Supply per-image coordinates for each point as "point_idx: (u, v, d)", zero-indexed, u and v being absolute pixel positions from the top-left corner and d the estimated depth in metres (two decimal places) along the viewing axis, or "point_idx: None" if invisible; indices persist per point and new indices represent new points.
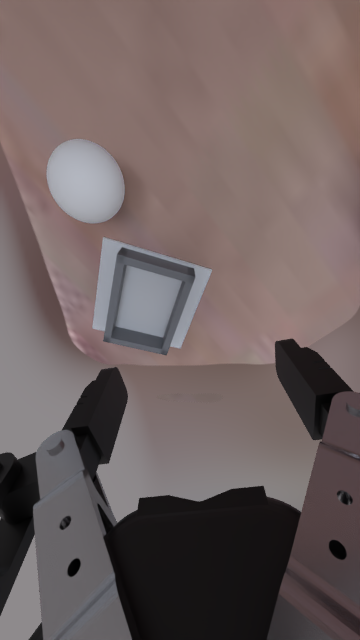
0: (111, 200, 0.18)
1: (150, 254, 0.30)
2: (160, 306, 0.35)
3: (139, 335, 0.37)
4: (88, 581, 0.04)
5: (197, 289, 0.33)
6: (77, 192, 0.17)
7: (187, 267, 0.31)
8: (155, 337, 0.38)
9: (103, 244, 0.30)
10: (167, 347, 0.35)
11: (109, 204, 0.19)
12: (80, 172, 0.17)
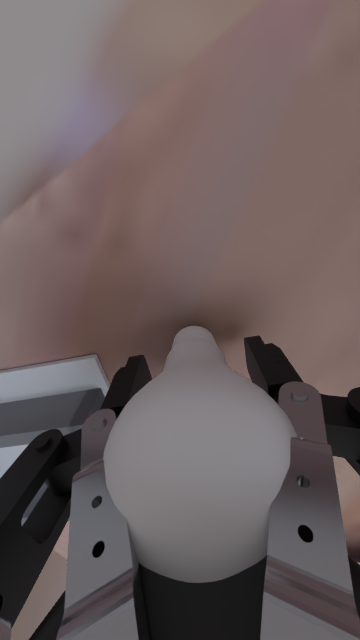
0: None
1: None
2: None
3: None
4: (109, 568, 0.04)
5: None
6: None
7: None
8: None
9: (82, 361, 0.15)
10: None
11: None
12: None
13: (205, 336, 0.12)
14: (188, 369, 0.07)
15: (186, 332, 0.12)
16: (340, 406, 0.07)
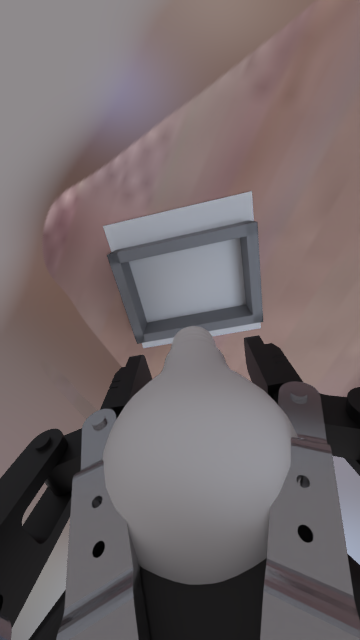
0: None
1: None
2: (190, 299, 0.26)
3: (136, 294, 0.25)
4: (109, 569, 0.04)
5: None
6: None
7: None
8: (143, 314, 0.27)
9: (242, 194, 0.22)
10: (150, 339, 0.25)
11: None
12: None
13: (205, 336, 0.12)
14: (188, 369, 0.07)
15: (185, 332, 0.12)
16: (340, 406, 0.07)
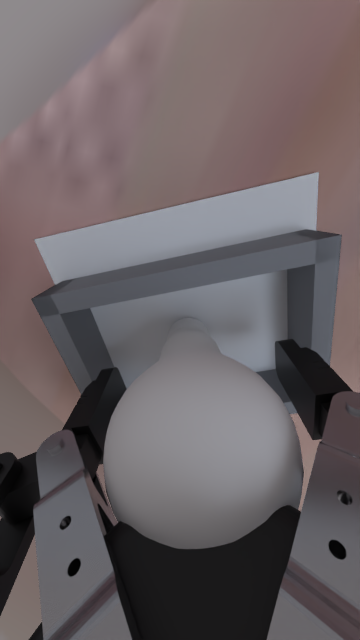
0: None
1: None
2: None
3: (103, 355, 0.15)
4: (88, 581, 0.04)
5: None
6: None
7: None
8: None
9: (299, 180, 0.11)
10: None
11: None
12: None
13: (200, 328, 0.13)
14: (188, 354, 0.08)
15: (181, 324, 0.13)
16: None
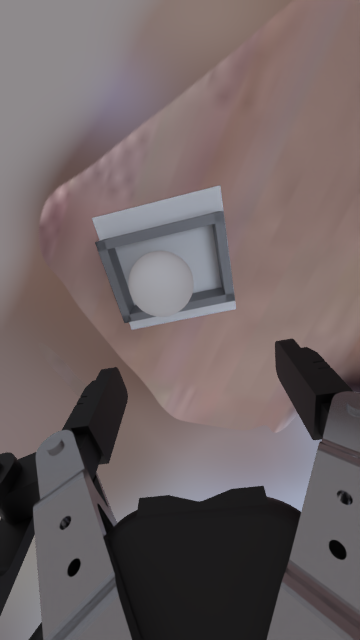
0: (162, 315, 0.21)
1: None
2: None
3: (123, 279, 0.29)
4: (88, 581, 0.04)
5: (209, 307, 0.31)
6: (155, 298, 0.19)
7: None
8: (130, 297, 0.30)
9: (212, 188, 0.25)
10: (136, 318, 0.29)
11: (158, 315, 0.21)
12: (170, 295, 0.19)
13: None
14: None
15: None
16: None
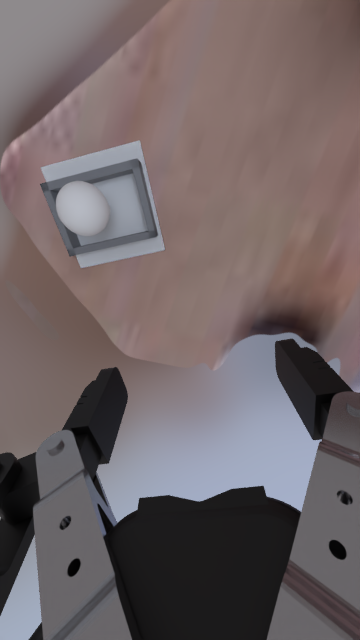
0: (82, 232, 0.28)
1: (149, 191, 0.34)
2: (109, 226, 0.36)
3: None
4: (87, 582, 0.04)
5: (143, 248, 0.38)
6: (71, 212, 0.26)
7: (156, 228, 0.36)
8: (76, 237, 0.37)
9: (133, 143, 0.32)
10: (78, 252, 0.35)
11: (79, 231, 0.28)
12: (83, 210, 0.26)
13: None
14: None
15: None
16: None
